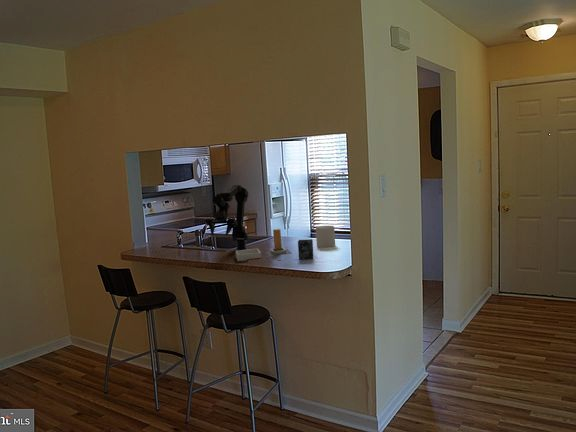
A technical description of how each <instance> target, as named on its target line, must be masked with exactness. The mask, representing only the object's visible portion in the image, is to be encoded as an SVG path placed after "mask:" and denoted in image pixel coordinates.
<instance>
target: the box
mask: <svg viewBox="0 0 576 432" xmlns="http://www.w3.org/2000/svg"><path fill="white" fill-rule="evenodd" d="M313 243H314V241H313V239H312V238H311V239H298V240H297V249H298V260H313V258H314V244H313Z"/></svg>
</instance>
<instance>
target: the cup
mask: <svg viewBox="0 0 576 432" xmlns="http://www.w3.org/2000/svg"><path fill="white" fill-rule="evenodd" d="M335 232H336V231H335V226H333V225H320V226H316V227H315V239H316V240H315V241H316V247H317V248H333V247H335V246H336V237H335V236H336V235H335Z"/></svg>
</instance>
